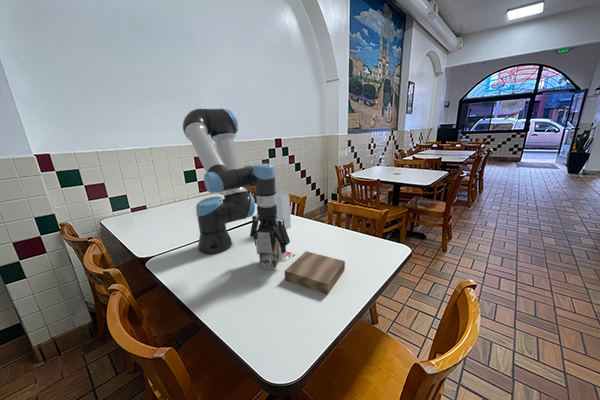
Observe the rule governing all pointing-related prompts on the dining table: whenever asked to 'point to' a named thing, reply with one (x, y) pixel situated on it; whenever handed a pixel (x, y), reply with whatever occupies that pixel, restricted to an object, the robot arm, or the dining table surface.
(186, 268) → the dining table surface
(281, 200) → the milk
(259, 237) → the coffee box
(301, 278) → the walnut pedestal
